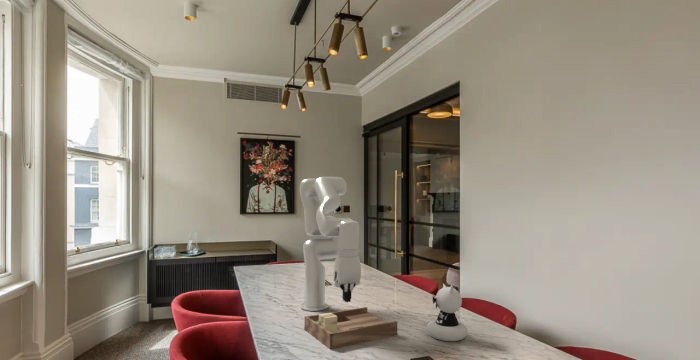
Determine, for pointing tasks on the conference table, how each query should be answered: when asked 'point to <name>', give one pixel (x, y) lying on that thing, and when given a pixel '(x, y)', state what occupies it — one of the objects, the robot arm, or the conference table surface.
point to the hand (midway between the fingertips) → (346, 300)
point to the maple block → (328, 321)
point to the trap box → (350, 328)
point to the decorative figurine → (447, 316)
